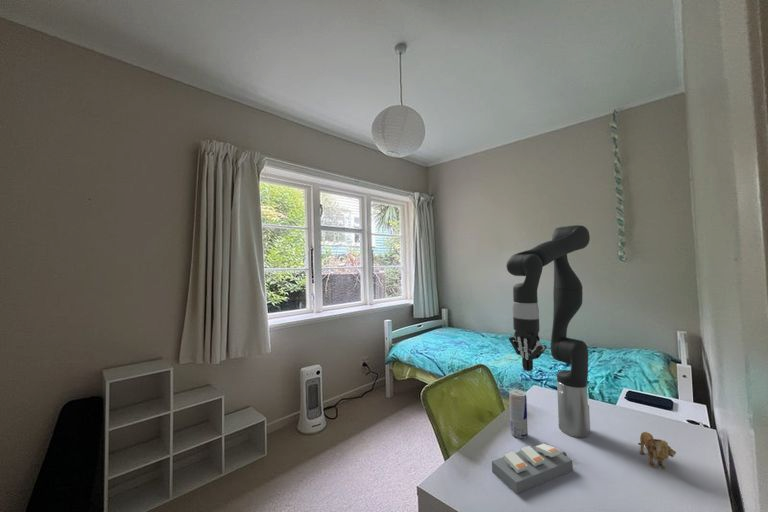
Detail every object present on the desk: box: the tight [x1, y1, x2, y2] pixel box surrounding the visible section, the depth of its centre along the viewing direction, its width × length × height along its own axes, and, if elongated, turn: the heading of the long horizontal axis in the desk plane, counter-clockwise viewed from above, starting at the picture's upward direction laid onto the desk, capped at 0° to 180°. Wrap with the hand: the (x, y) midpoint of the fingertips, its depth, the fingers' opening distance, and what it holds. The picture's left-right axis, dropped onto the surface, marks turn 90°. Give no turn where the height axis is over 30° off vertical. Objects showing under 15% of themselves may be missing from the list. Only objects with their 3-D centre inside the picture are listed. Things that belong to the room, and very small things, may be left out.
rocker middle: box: [519, 445, 544, 466], centre depth 84 cm, size 4×5×2 cm
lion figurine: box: [637, 431, 677, 469], centre depth 88 cm, size 15×5×9 cm, turn 165°
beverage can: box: [508, 388, 529, 439], centre depth 102 cm, size 6×6×15 cm
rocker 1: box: [503, 450, 528, 473], centre depth 82 cm, size 4×5×2 cm
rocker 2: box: [535, 443, 561, 457], centre depth 87 cm, size 4×5×2 cm
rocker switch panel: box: [491, 442, 574, 495], centre depth 85 cm, size 25×9×3 cm, turn 112°
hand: (527, 370), depth 91 cm, fingers closed
